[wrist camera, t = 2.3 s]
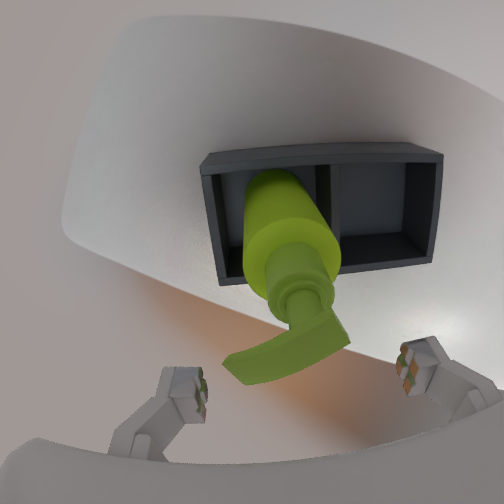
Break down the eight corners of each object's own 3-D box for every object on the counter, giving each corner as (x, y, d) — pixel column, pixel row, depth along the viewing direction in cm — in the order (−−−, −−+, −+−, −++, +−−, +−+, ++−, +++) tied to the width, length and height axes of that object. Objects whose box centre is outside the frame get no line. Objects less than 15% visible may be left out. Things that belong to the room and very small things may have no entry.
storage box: (209, 153, 28) (199, 166, 22) (410, 142, 28) (444, 154, 22) (224, 252, 33) (219, 286, 27) (404, 235, 32) (431, 263, 27)
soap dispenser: (223, 196, 30) (190, 344, 12) (285, 157, 28) (351, 259, 10) (256, 242, 32) (267, 412, 14) (315, 207, 30) (396, 354, 12)
